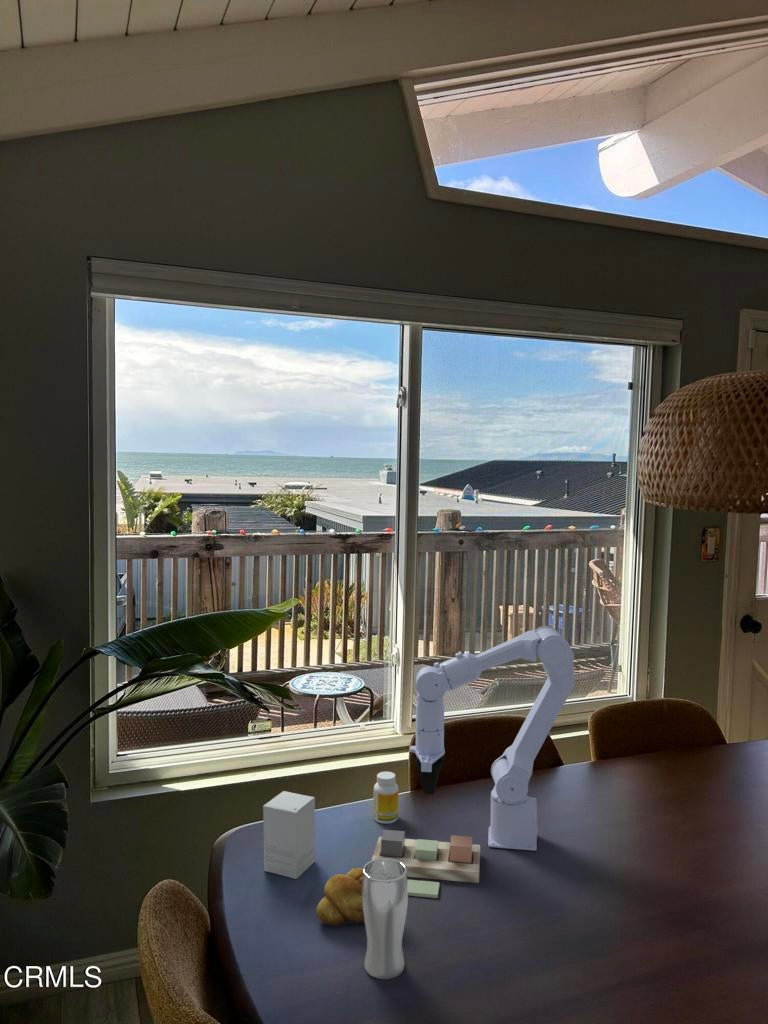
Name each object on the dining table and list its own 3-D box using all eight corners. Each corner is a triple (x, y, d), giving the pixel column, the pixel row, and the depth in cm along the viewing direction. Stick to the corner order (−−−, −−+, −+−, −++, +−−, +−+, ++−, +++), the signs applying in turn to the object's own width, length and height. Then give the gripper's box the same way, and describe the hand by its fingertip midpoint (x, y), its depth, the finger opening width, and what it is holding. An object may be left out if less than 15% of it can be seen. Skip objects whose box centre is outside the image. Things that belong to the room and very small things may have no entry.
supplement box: (316, 861, 140) (316, 796, 139) (296, 880, 133) (296, 812, 132) (283, 852, 143) (283, 789, 142) (262, 871, 136) (262, 804, 136)
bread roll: (323, 939, 116) (323, 890, 116) (307, 905, 125) (307, 860, 125) (398, 922, 121) (398, 875, 120) (378, 891, 130) (378, 847, 130)
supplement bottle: (368, 817, 158) (368, 774, 157) (387, 810, 161) (387, 768, 161) (384, 827, 154) (384, 782, 153) (403, 819, 157) (403, 775, 156)
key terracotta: (472, 852, 140) (472, 836, 139) (471, 863, 136) (471, 847, 135) (451, 850, 140) (451, 835, 140) (449, 861, 136) (449, 845, 136)
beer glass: (360, 952, 113) (360, 857, 112) (404, 950, 114) (405, 856, 113) (362, 983, 106) (362, 882, 105) (410, 980, 107) (410, 880, 106)
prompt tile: (439, 885, 132) (439, 882, 132) (437, 898, 128) (437, 894, 128) (406, 882, 132) (406, 879, 132) (403, 895, 129) (403, 891, 129)
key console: (480, 854, 142) (480, 845, 142) (478, 883, 132) (479, 872, 132) (379, 846, 145) (379, 836, 145) (370, 873, 136) (370, 862, 135)
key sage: (438, 855, 141) (438, 840, 140) (436, 866, 137) (436, 851, 136) (417, 854, 141) (417, 839, 141) (415, 865, 137) (415, 849, 137)
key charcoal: (404, 846, 142) (404, 831, 141) (401, 857, 138) (402, 841, 137) (384, 844, 142) (384, 829, 142) (381, 855, 138) (381, 839, 138)
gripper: (414, 714, 156) (413, 777, 156) (405, 738, 141) (405, 807, 142) (447, 716, 154) (446, 779, 155) (442, 740, 140) (441, 810, 141)
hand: (429, 793), depth 148 cm, fingers closed
